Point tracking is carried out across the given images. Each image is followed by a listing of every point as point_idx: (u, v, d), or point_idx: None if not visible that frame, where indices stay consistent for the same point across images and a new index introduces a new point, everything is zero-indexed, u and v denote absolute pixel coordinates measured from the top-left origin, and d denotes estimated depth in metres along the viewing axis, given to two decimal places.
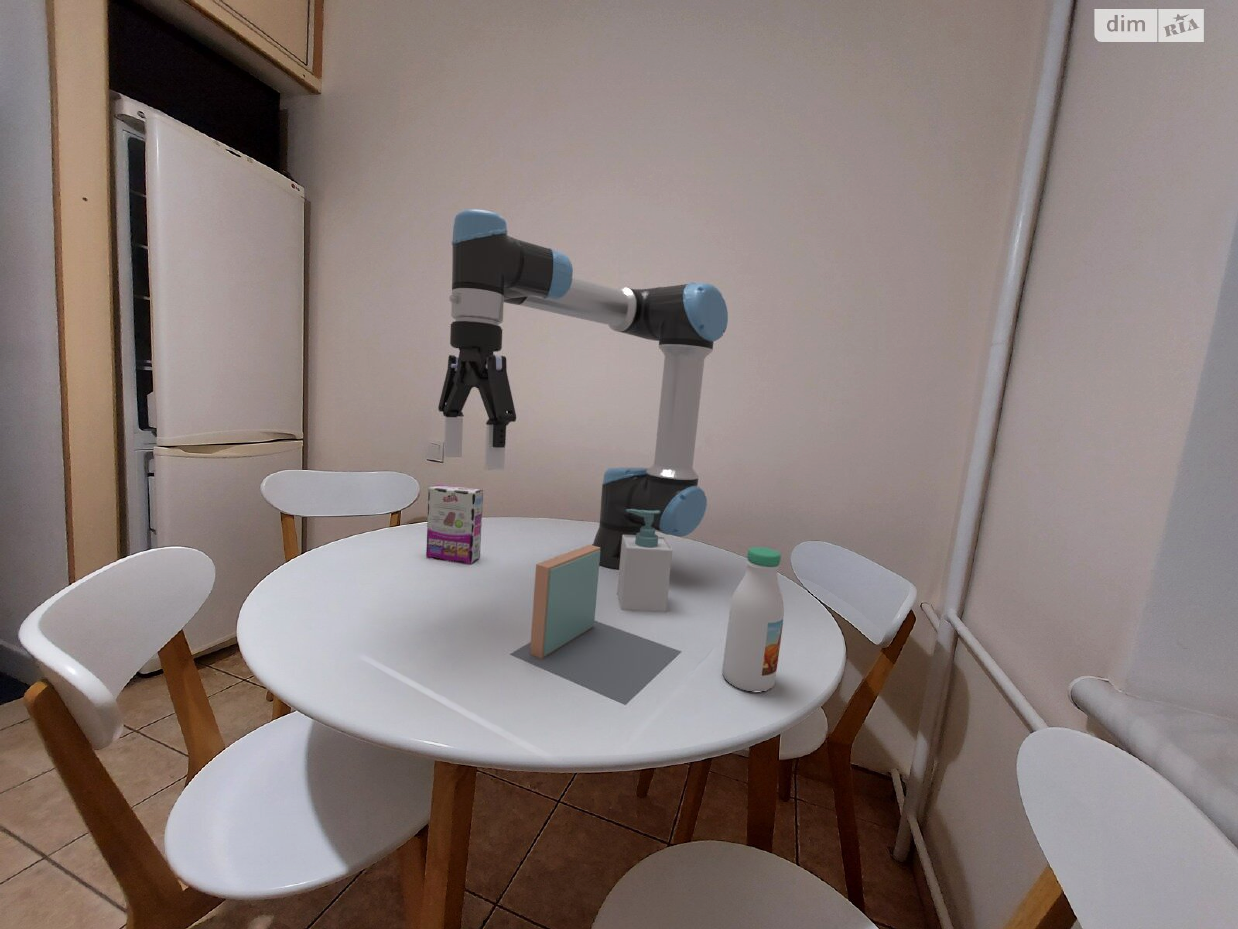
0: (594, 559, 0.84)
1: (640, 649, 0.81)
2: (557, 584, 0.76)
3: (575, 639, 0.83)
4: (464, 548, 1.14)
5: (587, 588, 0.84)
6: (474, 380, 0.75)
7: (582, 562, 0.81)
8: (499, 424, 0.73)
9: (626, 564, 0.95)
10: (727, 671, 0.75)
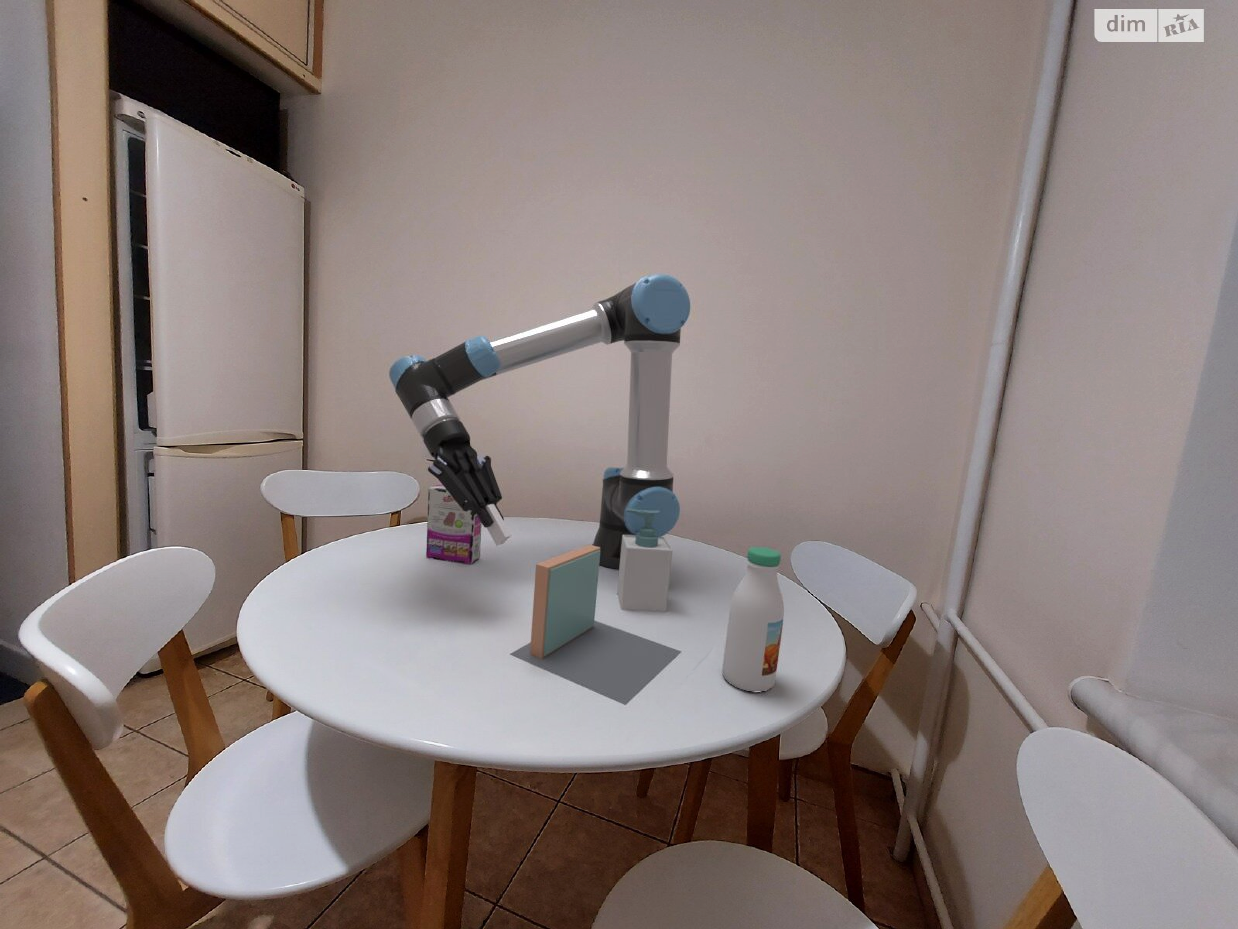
0: (594, 559, 0.84)
1: (640, 649, 0.81)
2: (557, 584, 0.76)
3: (575, 639, 0.83)
4: (464, 548, 1.14)
5: (587, 588, 0.84)
6: None
7: (582, 562, 0.81)
8: (474, 511, 0.87)
9: (626, 564, 0.95)
10: (727, 671, 0.75)
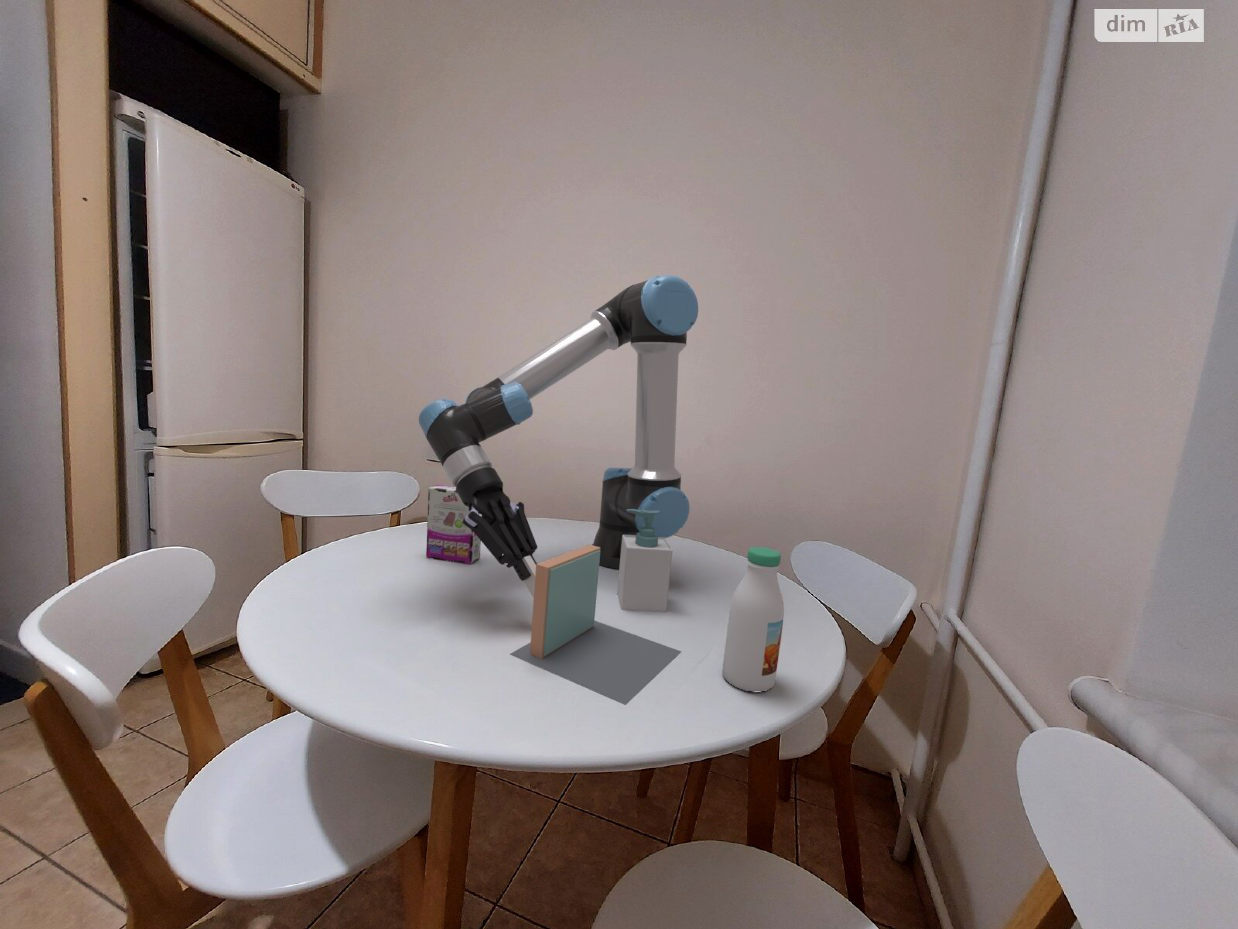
0: (594, 559, 0.84)
1: (640, 649, 0.81)
2: (557, 584, 0.76)
3: (575, 639, 0.83)
4: (464, 548, 1.14)
5: (587, 588, 0.84)
6: None
7: (582, 562, 0.81)
8: (511, 563, 0.84)
9: (626, 564, 0.95)
10: (727, 671, 0.75)
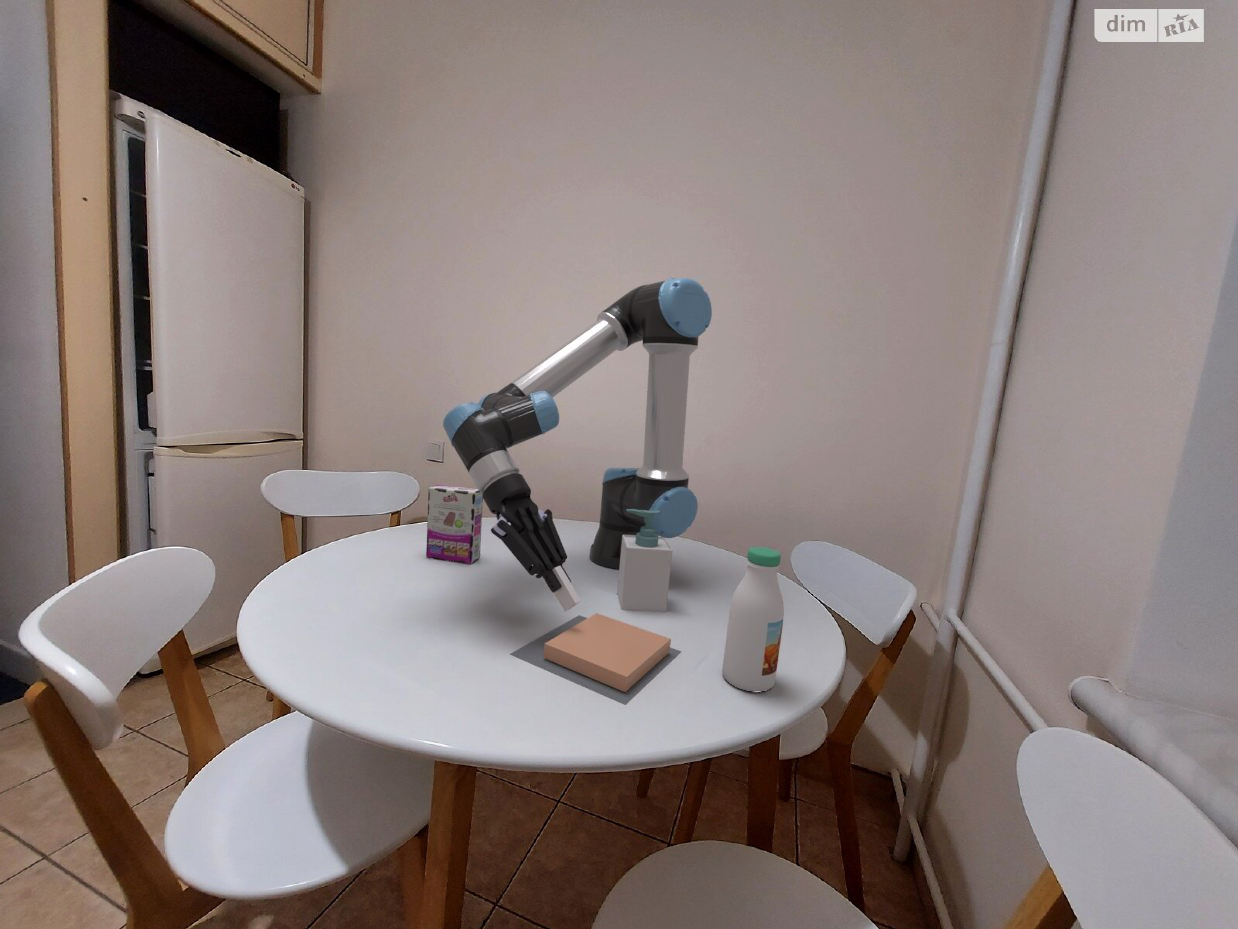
0: None
1: None
2: None
3: None
4: (464, 548, 1.14)
5: None
6: None
7: None
8: (541, 574, 0.81)
9: (626, 564, 0.95)
10: (727, 671, 0.75)
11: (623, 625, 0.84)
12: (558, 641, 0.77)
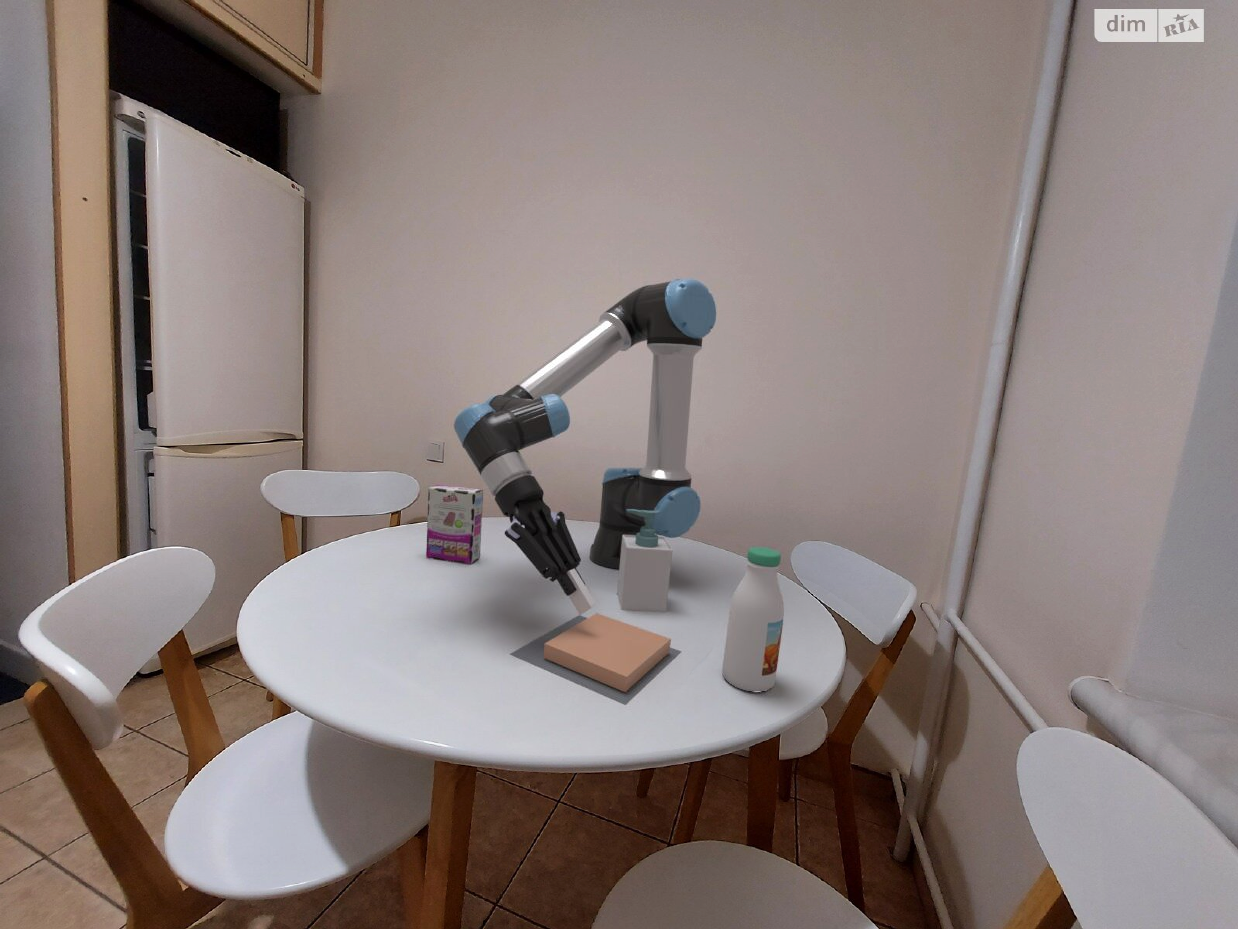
0: None
1: None
2: None
3: None
4: (464, 548, 1.14)
5: None
6: None
7: None
8: (555, 577, 0.80)
9: (626, 564, 0.95)
10: (727, 671, 0.75)
11: (623, 625, 0.84)
12: (558, 641, 0.77)
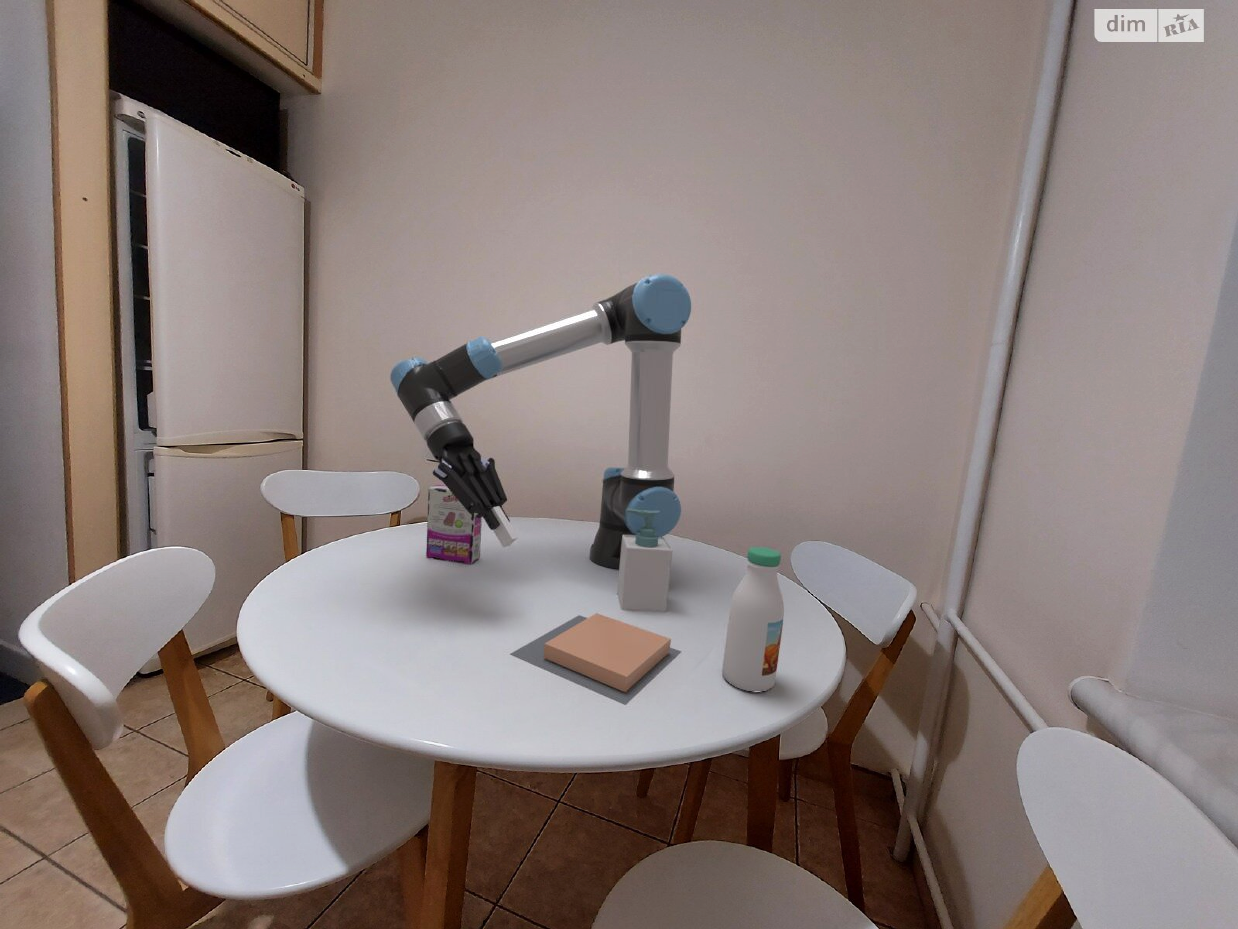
0: None
1: None
2: None
3: None
4: (464, 548, 1.14)
5: None
6: None
7: None
8: (480, 513, 0.87)
9: (626, 564, 0.95)
10: (727, 671, 0.75)
11: (623, 625, 0.84)
12: (558, 641, 0.77)
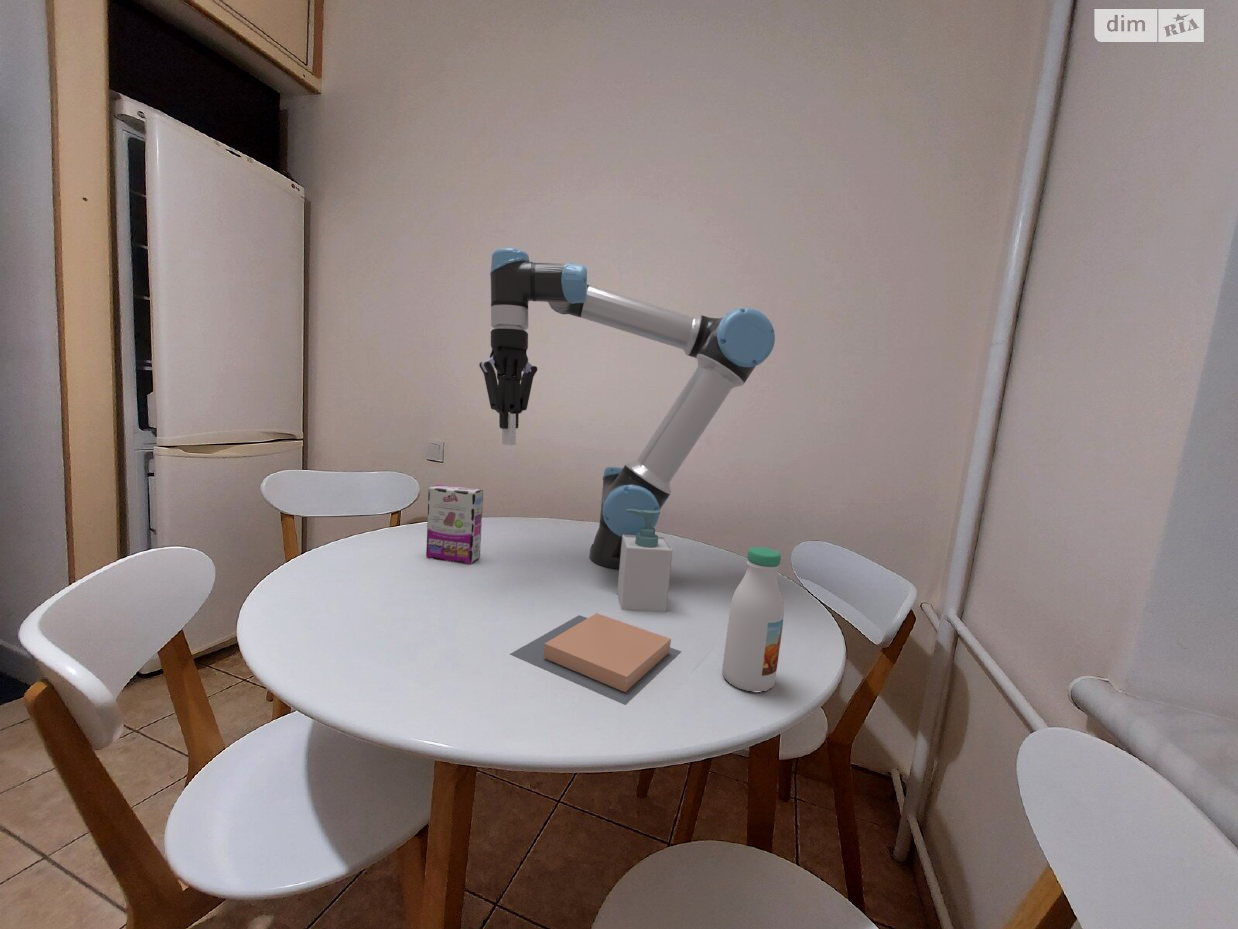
0: None
1: None
2: None
3: None
4: (464, 548, 1.14)
5: None
6: None
7: None
8: (499, 412, 1.06)
9: (626, 564, 0.95)
10: (727, 671, 0.75)
11: (623, 625, 0.84)
12: (558, 641, 0.77)
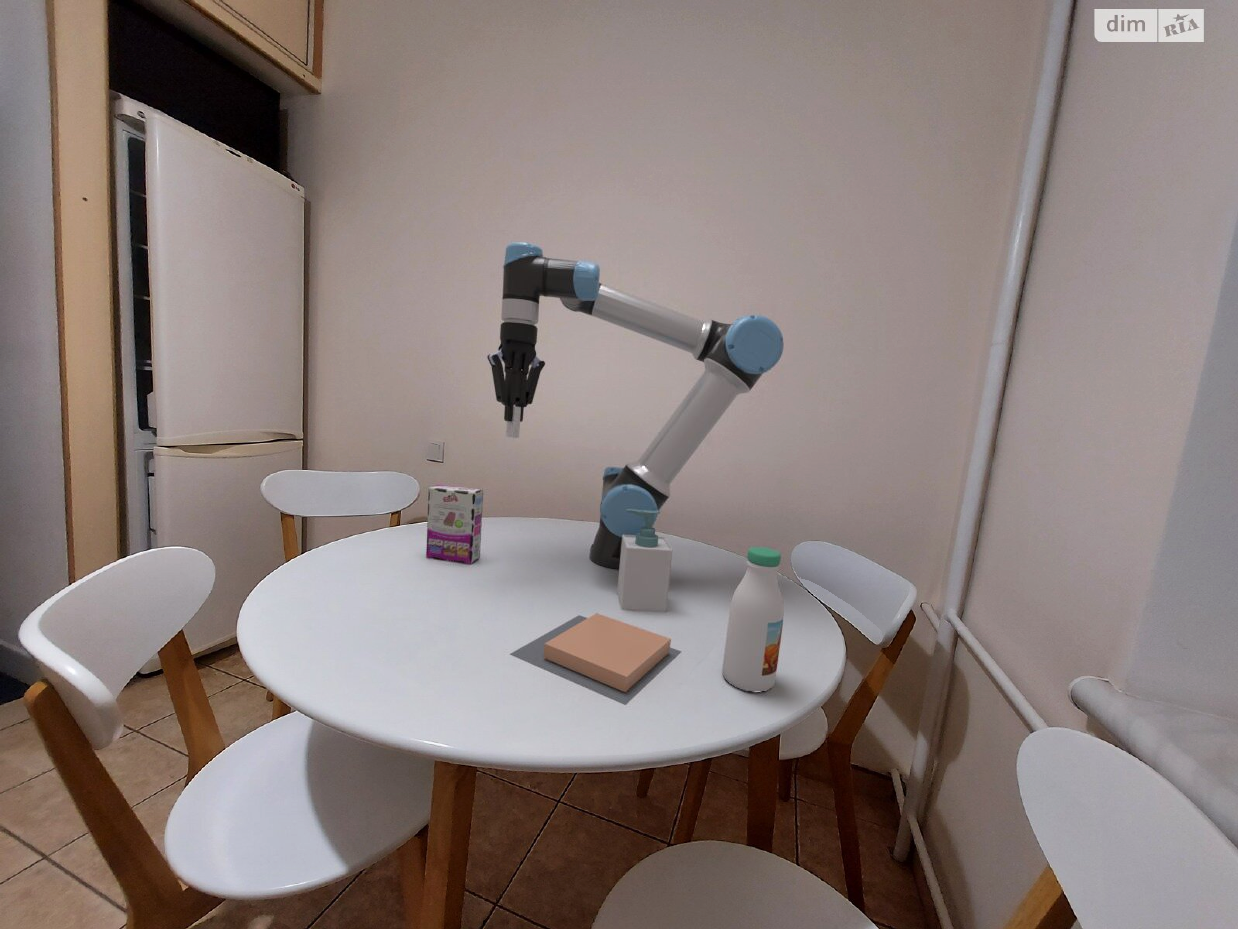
0: None
1: None
2: None
3: None
4: (464, 548, 1.14)
5: None
6: None
7: None
8: (504, 404, 1.08)
9: (626, 564, 0.95)
10: (727, 671, 0.75)
11: (623, 625, 0.84)
12: (558, 641, 0.77)
